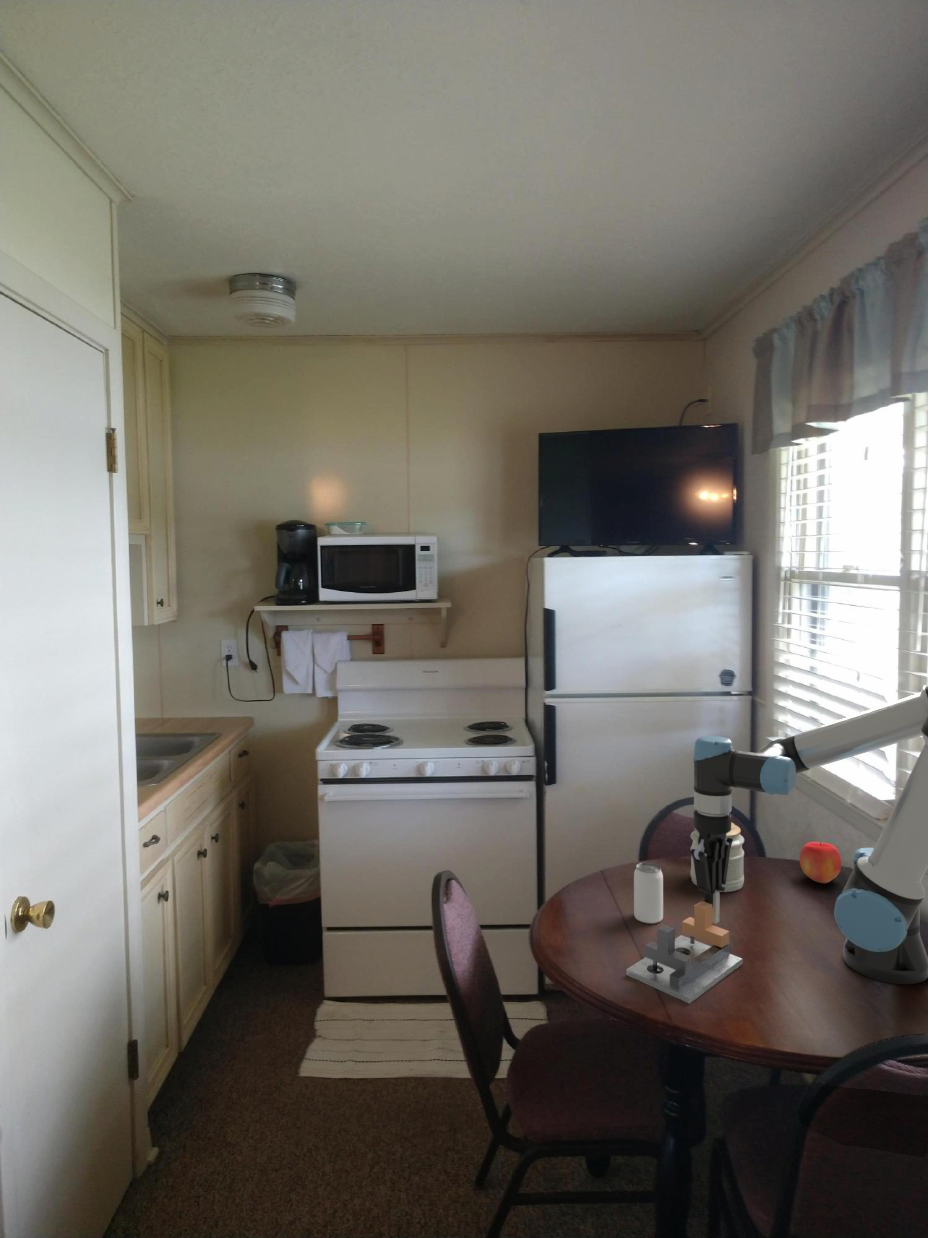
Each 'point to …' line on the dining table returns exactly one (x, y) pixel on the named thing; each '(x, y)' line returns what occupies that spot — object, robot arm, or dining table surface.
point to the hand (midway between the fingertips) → (711, 920)
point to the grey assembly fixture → (683, 965)
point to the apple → (820, 861)
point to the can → (648, 893)
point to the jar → (735, 860)
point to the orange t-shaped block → (704, 926)
